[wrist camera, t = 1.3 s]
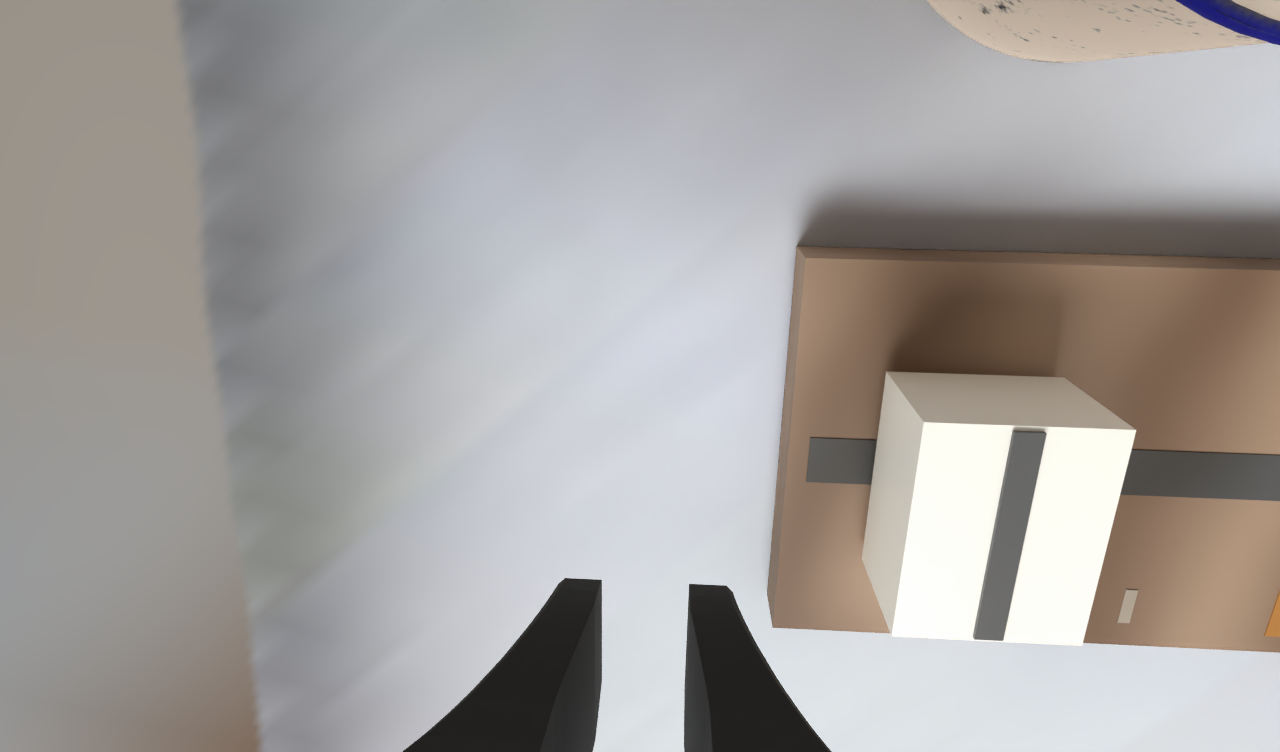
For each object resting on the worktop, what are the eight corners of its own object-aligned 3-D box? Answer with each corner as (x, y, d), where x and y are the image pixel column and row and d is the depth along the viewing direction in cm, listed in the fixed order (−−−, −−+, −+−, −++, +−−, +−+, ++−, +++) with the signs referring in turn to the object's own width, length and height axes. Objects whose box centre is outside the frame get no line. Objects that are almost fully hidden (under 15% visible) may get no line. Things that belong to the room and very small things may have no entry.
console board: (1575, 266, 18) (1654, 280, 17) (1422, 624, 21) (1476, 663, 20) (796, 246, 19) (805, 258, 17) (767, 594, 22) (773, 628, 21)
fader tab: (1064, 377, 18) (1138, 431, 15) (1023, 566, 19) (1084, 648, 16) (885, 371, 18) (925, 424, 15) (862, 559, 19) (892, 639, 17)
